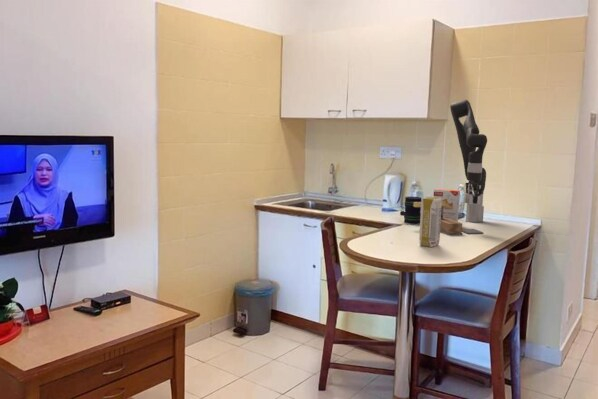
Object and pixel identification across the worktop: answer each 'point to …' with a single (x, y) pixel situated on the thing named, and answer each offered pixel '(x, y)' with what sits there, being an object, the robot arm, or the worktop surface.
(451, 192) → the cracker box
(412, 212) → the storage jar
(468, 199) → the cap
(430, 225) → the juice carton
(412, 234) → the worktop surface
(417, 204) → the lever
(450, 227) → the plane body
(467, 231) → the mat
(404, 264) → the worktop surface
